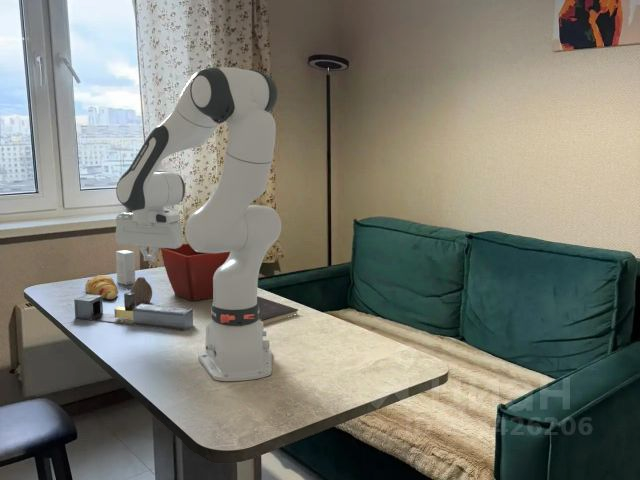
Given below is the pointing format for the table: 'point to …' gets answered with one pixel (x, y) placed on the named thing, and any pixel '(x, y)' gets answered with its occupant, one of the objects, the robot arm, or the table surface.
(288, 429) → the table surface
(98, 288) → the croissant
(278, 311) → the hardcover book
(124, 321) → the guide
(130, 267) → the skincare box
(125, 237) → the robot arm
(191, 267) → the plant pot
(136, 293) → the vase
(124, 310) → the sliding bolt
